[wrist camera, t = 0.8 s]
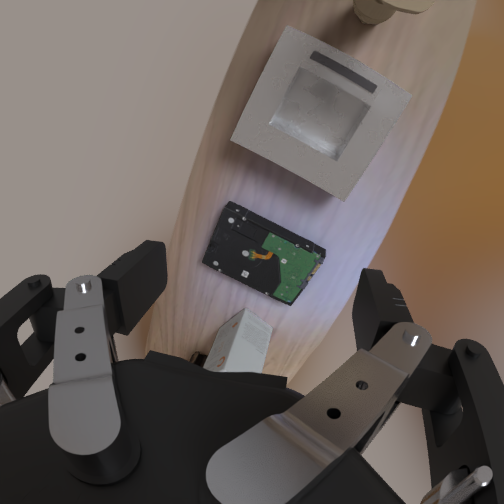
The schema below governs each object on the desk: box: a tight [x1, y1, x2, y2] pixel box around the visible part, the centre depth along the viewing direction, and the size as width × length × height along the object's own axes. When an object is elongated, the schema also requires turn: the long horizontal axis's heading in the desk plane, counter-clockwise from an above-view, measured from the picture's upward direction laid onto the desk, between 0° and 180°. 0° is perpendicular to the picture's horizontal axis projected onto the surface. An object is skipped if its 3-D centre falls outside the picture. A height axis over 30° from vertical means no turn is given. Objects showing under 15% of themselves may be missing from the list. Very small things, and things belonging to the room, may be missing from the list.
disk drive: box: [202, 201, 326, 306], centre depth 44 cm, size 10×3×15 cm
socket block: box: [230, 25, 412, 202], centre depth 30 cm, size 14×14×5 cm
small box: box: [203, 308, 273, 373], centre depth 48 cm, size 8×6×13 cm
